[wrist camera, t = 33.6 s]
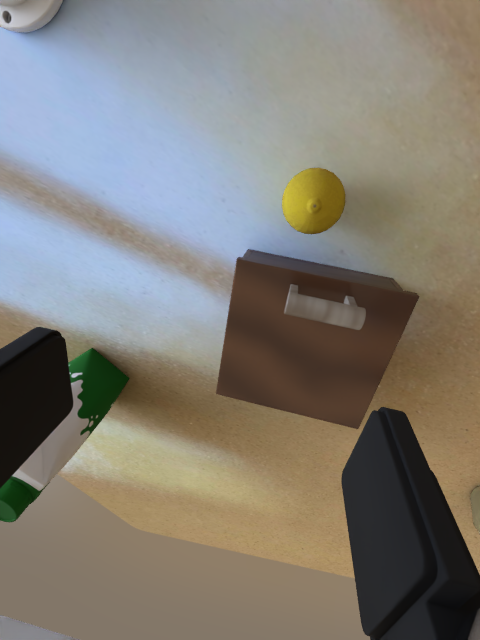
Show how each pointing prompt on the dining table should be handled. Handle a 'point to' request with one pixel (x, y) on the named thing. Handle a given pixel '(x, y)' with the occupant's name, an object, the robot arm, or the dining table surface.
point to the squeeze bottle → (476, 507)
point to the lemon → (313, 200)
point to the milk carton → (65, 431)
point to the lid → (309, 340)
